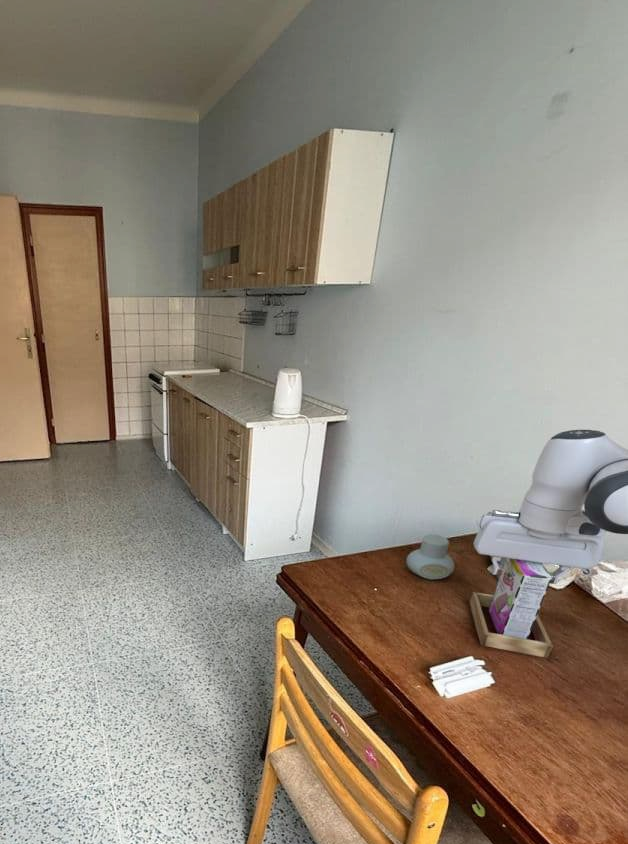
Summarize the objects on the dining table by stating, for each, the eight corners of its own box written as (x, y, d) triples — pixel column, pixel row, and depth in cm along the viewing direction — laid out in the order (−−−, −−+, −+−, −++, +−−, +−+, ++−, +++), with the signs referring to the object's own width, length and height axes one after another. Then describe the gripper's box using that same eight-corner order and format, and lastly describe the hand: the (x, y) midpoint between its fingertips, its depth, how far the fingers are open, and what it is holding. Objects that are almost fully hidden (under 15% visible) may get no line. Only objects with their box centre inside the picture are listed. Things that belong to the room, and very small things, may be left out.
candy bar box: (486, 611, 107) (508, 547, 99) (511, 615, 106) (536, 550, 98) (498, 641, 98) (523, 573, 90) (526, 646, 96) (554, 577, 89)
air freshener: (446, 567, 125) (455, 533, 120) (454, 583, 118) (465, 548, 113) (401, 563, 127) (409, 530, 122) (407, 579, 120) (416, 544, 115)
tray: (527, 612, 107) (531, 601, 105) (547, 658, 93) (553, 646, 92) (469, 602, 111) (472, 591, 109) (480, 645, 97) (484, 633, 96)
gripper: (487, 514, 90) (467, 576, 97) (619, 530, 84) (588, 595, 90) (481, 503, 95) (463, 562, 102) (605, 516, 89) (577, 579, 95)
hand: (522, 578), depth 96 cm, fingers open, 8 cm apart
